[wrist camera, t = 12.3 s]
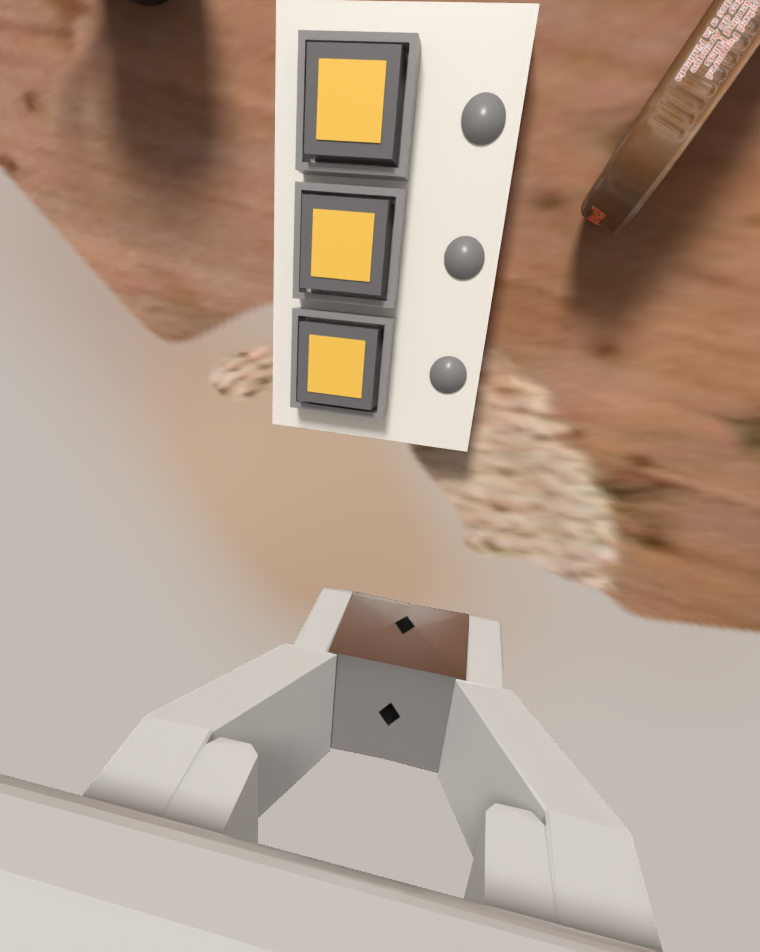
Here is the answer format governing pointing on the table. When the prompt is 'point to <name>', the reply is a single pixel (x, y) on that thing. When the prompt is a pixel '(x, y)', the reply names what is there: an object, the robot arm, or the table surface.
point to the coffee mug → (149, 2)
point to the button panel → (406, 207)
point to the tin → (675, 112)
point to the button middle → (345, 244)
